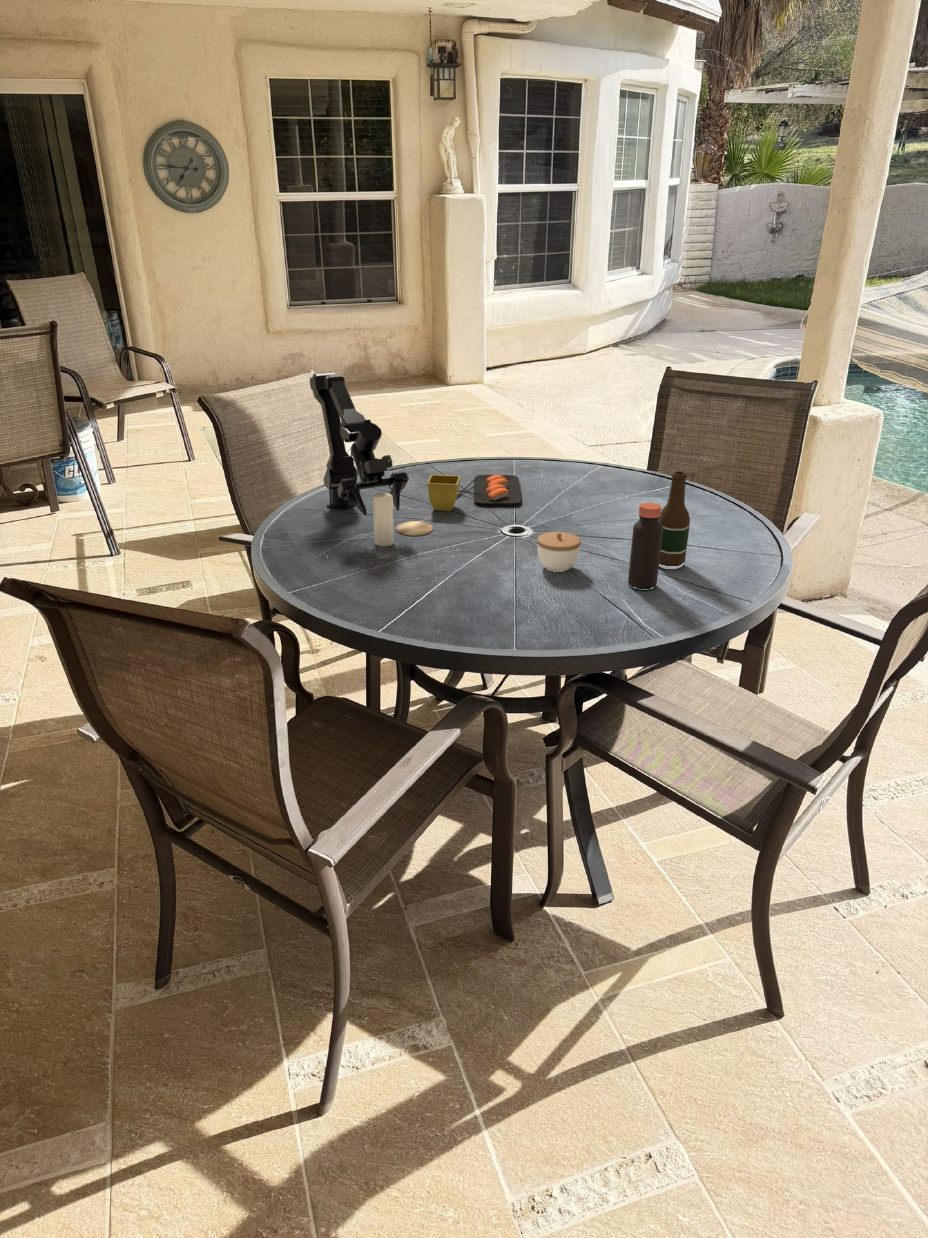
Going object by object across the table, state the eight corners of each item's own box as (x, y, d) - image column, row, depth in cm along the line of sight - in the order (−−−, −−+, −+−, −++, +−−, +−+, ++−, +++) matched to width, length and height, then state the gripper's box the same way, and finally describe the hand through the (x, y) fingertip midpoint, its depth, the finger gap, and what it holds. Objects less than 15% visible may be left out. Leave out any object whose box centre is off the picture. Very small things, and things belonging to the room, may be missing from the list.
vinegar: (650, 593, 203) (659, 512, 194) (623, 587, 206) (630, 507, 198) (660, 583, 208) (669, 504, 199) (634, 577, 211) (641, 499, 203)
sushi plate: (521, 509, 259) (522, 496, 258) (422, 507, 260) (421, 495, 258) (518, 480, 285) (518, 469, 284) (427, 479, 286) (427, 468, 284)
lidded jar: (550, 579, 210) (552, 543, 206) (527, 564, 219) (529, 529, 215) (587, 571, 215) (589, 536, 211) (563, 557, 223) (565, 523, 219)
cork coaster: (389, 531, 240) (389, 529, 239) (410, 521, 247) (410, 519, 247) (419, 538, 235) (419, 536, 235) (439, 527, 243) (439, 525, 242)
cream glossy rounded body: (370, 543, 231) (368, 497, 225) (382, 538, 235) (380, 492, 229) (386, 547, 229) (384, 500, 223) (397, 541, 233) (396, 495, 227)
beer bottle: (685, 561, 221) (697, 470, 211) (682, 572, 215) (694, 478, 204) (655, 557, 224) (665, 466, 213) (651, 568, 217) (661, 475, 206)
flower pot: (460, 504, 261) (460, 475, 257) (457, 513, 254) (457, 484, 250) (431, 503, 262) (431, 474, 258) (427, 512, 254) (427, 483, 250)
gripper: (338, 449, 222) (355, 502, 218) (405, 441, 229) (422, 492, 225) (330, 471, 232) (346, 522, 227) (394, 463, 239) (411, 512, 235)
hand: (382, 512), depth 229 cm, fingers open, 9 cm apart
